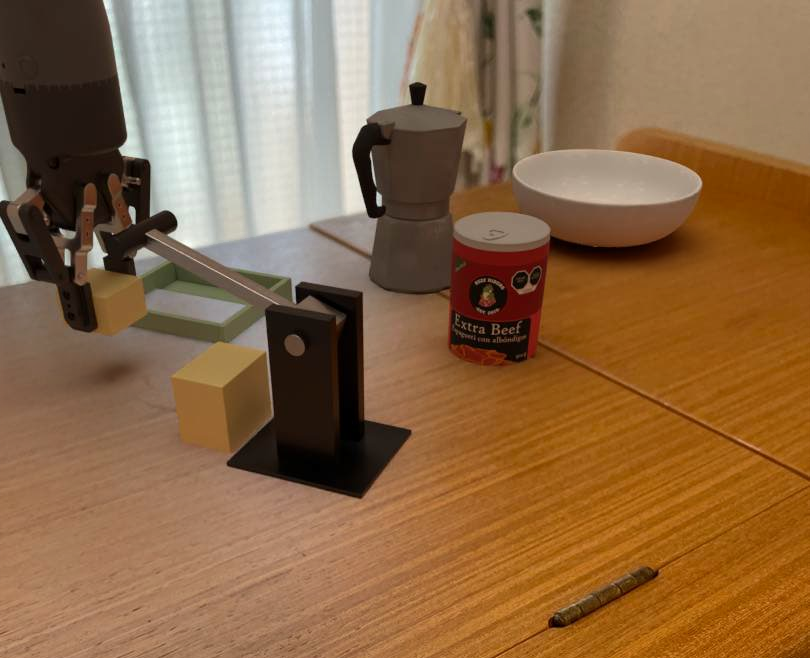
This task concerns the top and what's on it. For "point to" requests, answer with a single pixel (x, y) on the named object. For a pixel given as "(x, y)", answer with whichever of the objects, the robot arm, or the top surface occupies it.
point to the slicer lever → (203, 265)
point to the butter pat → (114, 300)
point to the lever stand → (319, 400)
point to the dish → (191, 284)
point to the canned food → (497, 287)
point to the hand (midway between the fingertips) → (105, 315)
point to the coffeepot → (410, 191)
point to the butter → (222, 396)
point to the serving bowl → (605, 195)
